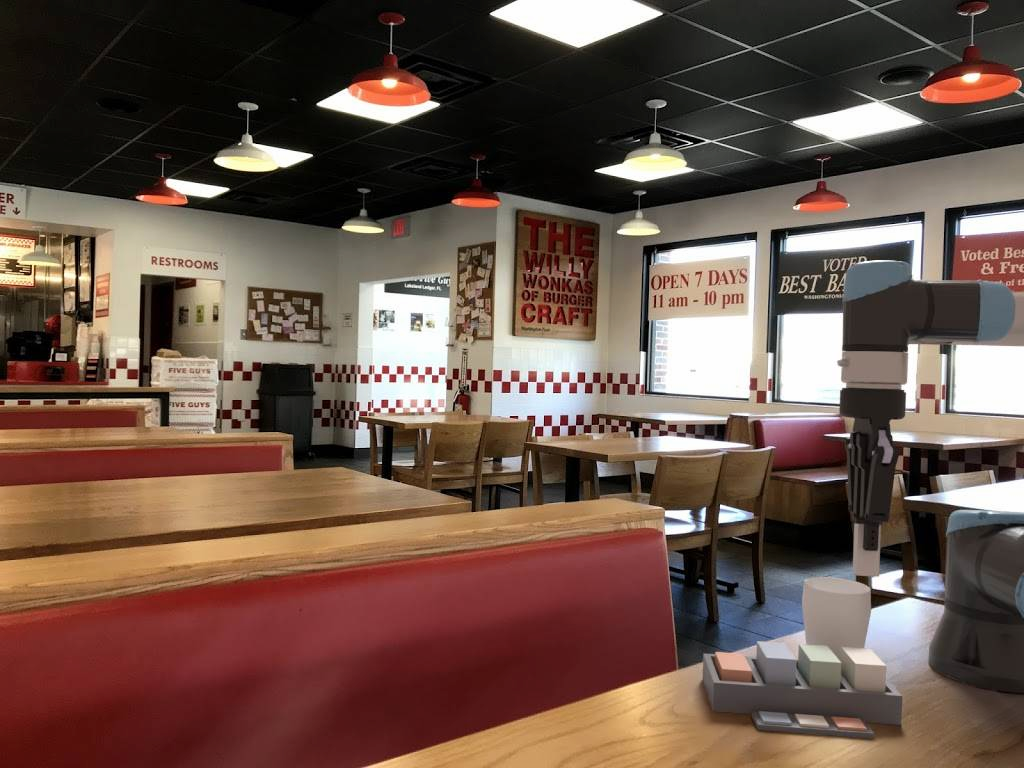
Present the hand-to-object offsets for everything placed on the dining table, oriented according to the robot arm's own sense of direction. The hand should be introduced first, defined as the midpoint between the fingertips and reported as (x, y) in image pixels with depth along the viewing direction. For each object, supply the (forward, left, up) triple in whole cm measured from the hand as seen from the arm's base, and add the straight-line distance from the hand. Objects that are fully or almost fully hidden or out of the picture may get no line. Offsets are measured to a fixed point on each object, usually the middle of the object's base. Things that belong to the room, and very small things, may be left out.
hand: (865, 574), depth 100 cm
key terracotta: (+16, 0, -16) cm, 22 cm away
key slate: (+11, 0, -14) cm, 17 cm away
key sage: (+5, 0, -14) cm, 15 cm away
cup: (0, -12, -17) cm, 21 cm away
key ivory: (0, 0, -14) cm, 14 cm away
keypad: (+8, 0, -17) cm, 18 cm away
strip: (+8, +8, -17) cm, 20 cm away
